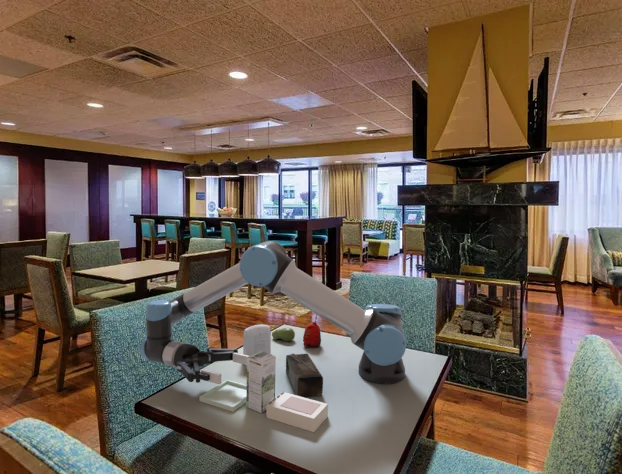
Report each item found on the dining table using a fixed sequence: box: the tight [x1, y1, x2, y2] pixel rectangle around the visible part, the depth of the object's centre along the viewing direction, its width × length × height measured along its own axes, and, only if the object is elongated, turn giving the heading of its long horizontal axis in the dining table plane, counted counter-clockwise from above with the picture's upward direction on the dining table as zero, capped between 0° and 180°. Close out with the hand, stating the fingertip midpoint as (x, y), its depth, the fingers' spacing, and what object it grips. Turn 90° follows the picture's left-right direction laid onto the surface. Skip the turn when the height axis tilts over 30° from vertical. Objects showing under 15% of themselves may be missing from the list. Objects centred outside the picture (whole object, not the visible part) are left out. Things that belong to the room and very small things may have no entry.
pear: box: [271, 327, 296, 342], centre depth 160 cm, size 6×5×10 cm
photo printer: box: [242, 323, 272, 356], centre depth 140 cm, size 10×4×12 cm, turn 123°
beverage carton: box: [285, 353, 324, 398], centre depth 122 cm, size 8×19×7 cm, turn 14°
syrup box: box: [245, 351, 277, 414], centre depth 107 cm, size 6×6×14 cm
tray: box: [198, 379, 247, 413], centre depth 113 cm, size 12×12×1 cm
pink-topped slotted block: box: [266, 391, 329, 433], centre depth 102 cm, size 14×8×4 cm, turn 62°
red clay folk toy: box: [302, 314, 322, 348], centre depth 153 cm, size 8×7×15 cm
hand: (236, 369), depth 111 cm, fingers open, 13 cm apart
